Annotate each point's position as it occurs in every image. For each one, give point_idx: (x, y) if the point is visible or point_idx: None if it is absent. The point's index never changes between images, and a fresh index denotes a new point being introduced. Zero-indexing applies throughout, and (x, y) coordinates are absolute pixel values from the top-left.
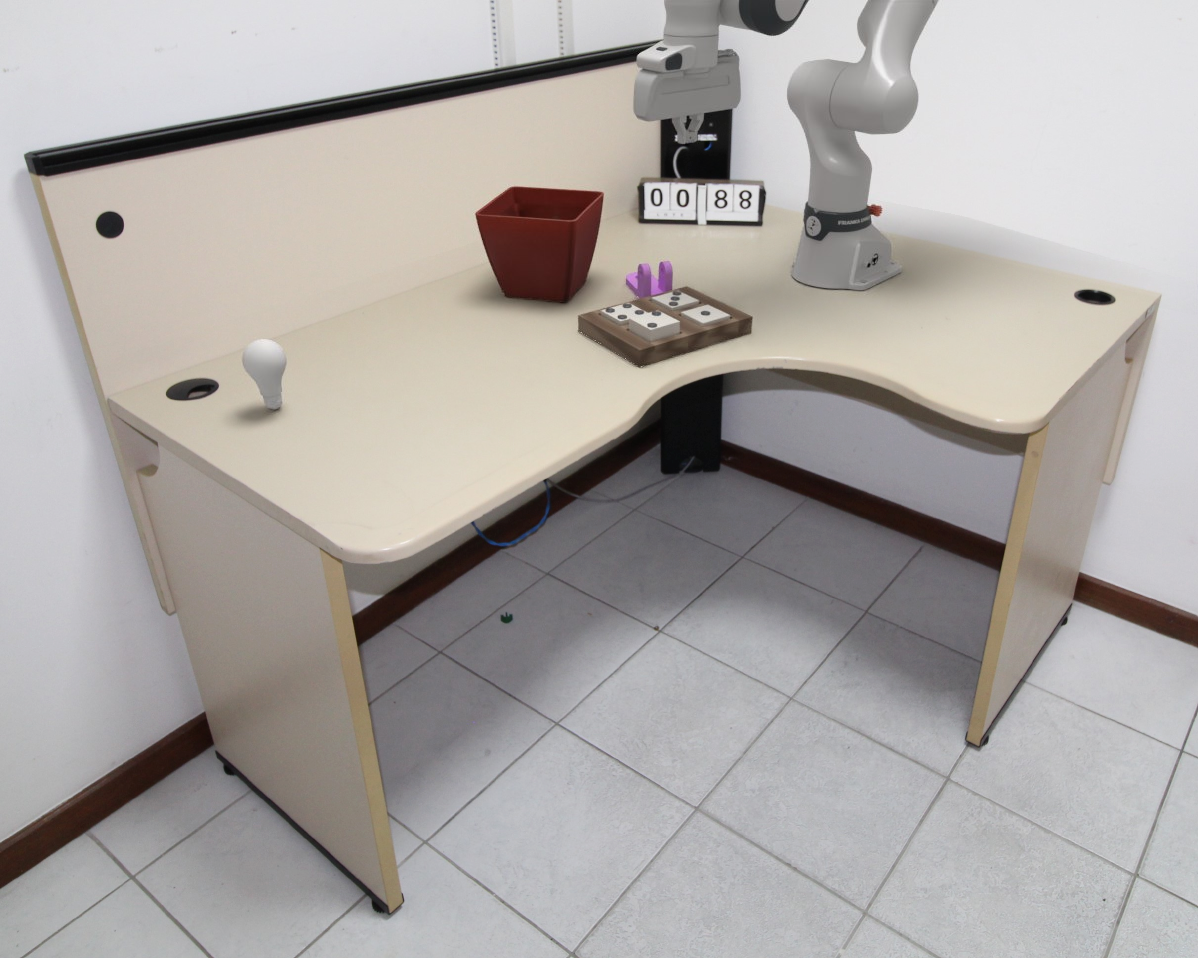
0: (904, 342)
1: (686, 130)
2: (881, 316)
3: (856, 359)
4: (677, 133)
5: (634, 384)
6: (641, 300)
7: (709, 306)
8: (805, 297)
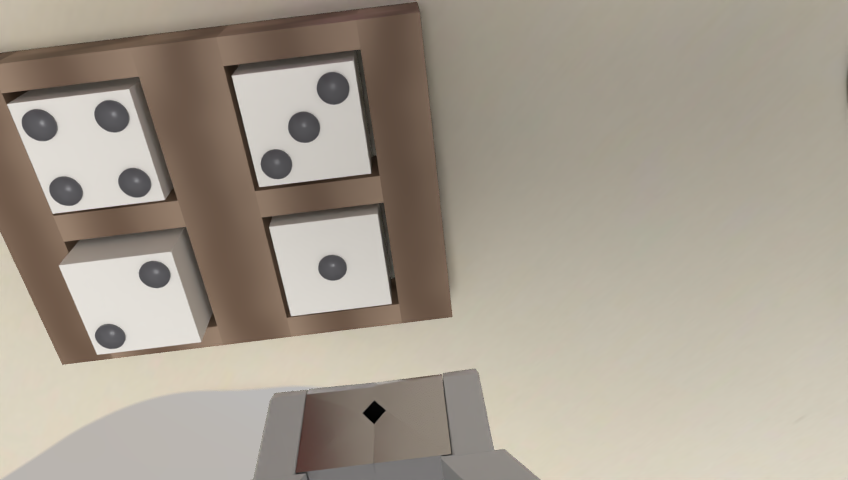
0: (702, 454)
1: (402, 475)
2: (794, 342)
3: (553, 472)
4: (259, 460)
5: (43, 394)
6: (198, 57)
7: (373, 228)
8: (759, 157)
